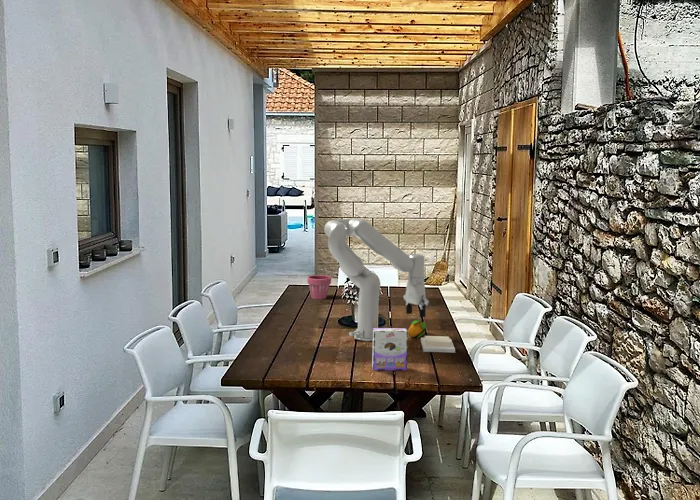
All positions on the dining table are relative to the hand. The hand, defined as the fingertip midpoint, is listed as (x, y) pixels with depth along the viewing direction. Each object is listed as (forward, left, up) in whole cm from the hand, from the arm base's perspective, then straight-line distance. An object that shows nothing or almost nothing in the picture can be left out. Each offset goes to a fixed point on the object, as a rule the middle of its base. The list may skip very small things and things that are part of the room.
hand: (415, 315), depth 362 cm
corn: (0, -1, -11) cm, 11 cm away
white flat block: (-5, -21, -10) cm, 24 cm away
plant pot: (+14, +105, -10) cm, 107 cm away
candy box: (-47, -38, -10) cm, 61 cm away
